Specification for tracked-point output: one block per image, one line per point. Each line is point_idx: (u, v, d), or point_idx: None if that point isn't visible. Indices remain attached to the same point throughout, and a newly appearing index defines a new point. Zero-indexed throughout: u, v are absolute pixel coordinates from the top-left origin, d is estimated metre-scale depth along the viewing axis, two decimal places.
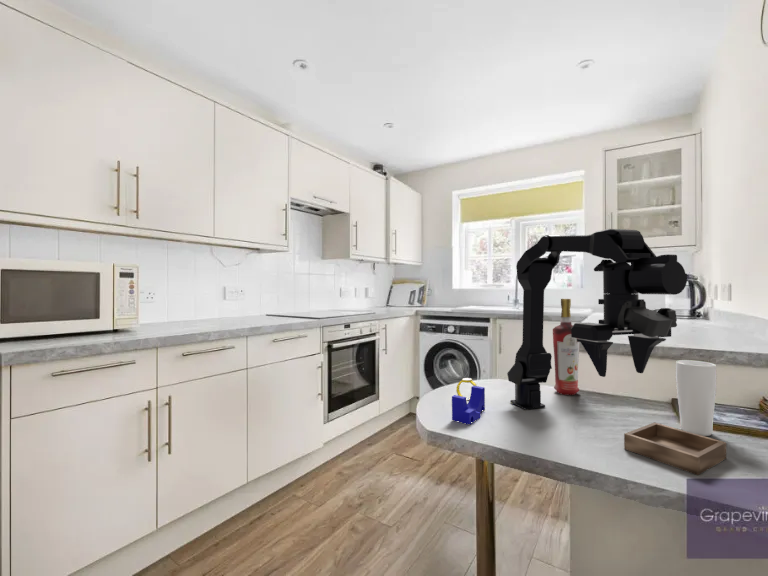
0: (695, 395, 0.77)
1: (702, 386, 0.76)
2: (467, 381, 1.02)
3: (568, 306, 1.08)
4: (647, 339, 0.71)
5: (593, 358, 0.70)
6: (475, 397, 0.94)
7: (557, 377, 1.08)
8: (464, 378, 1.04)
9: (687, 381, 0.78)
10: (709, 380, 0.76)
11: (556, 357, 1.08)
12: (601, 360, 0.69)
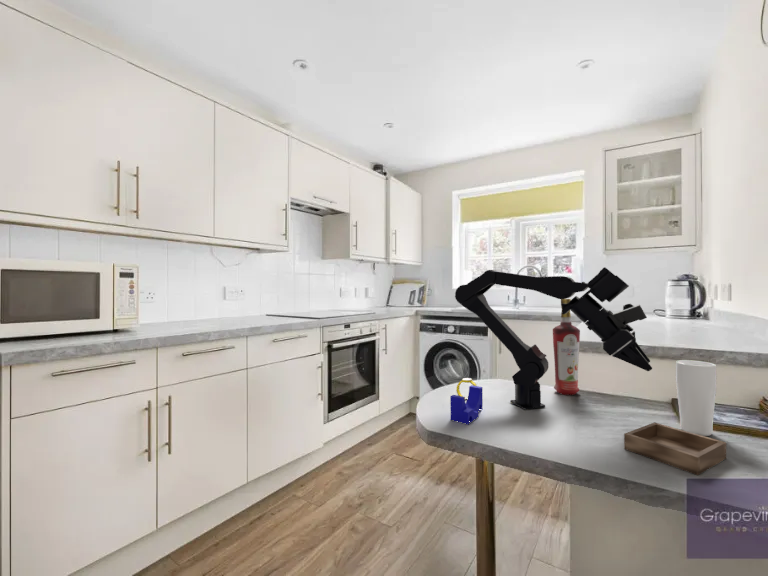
0: (695, 395, 0.77)
1: (702, 386, 0.76)
2: (467, 381, 1.02)
3: None
4: None
5: (634, 361, 0.80)
6: (473, 396, 0.95)
7: (557, 377, 1.08)
8: (464, 378, 1.04)
9: (687, 381, 0.78)
10: (709, 380, 0.76)
11: (556, 357, 1.08)
12: (641, 356, 0.80)
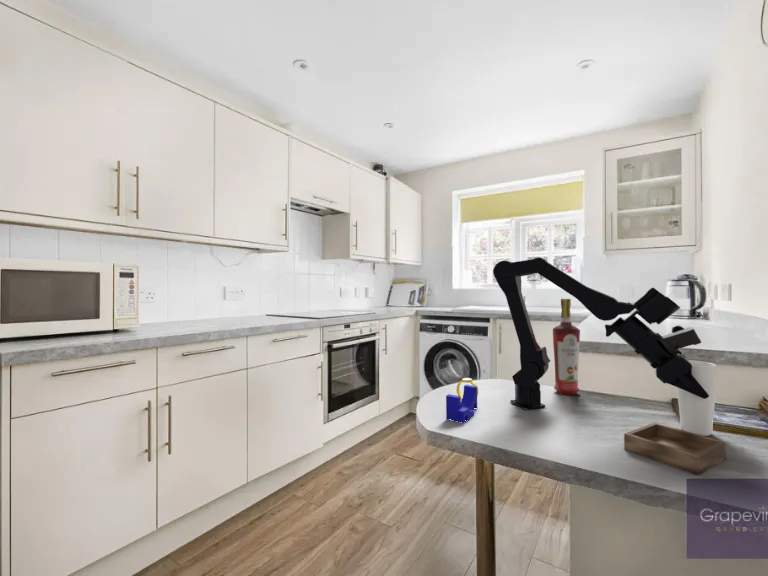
0: (695, 395, 0.77)
1: (702, 386, 0.76)
2: (467, 381, 1.02)
3: (568, 306, 1.08)
4: None
5: (689, 388, 0.76)
6: (468, 396, 0.95)
7: (557, 377, 1.08)
8: (464, 378, 1.04)
9: None
10: (709, 380, 0.76)
11: (556, 357, 1.08)
12: (697, 383, 0.76)
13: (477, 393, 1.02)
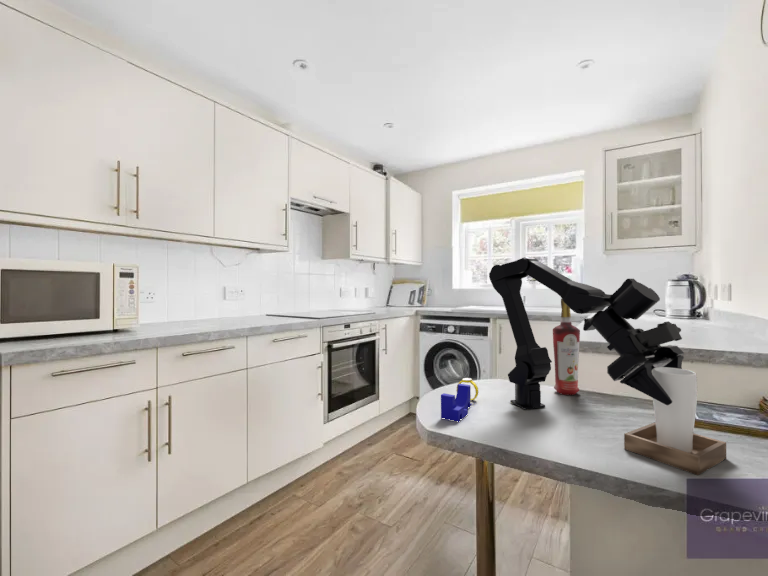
0: (662, 406, 0.68)
1: (669, 396, 0.67)
2: (467, 381, 1.02)
3: None
4: (670, 362, 0.74)
5: (648, 391, 0.68)
6: (461, 394, 0.96)
7: (557, 377, 1.08)
8: (464, 378, 1.04)
9: None
10: (677, 390, 0.67)
11: (556, 357, 1.08)
12: (656, 386, 0.67)
13: (477, 393, 1.02)
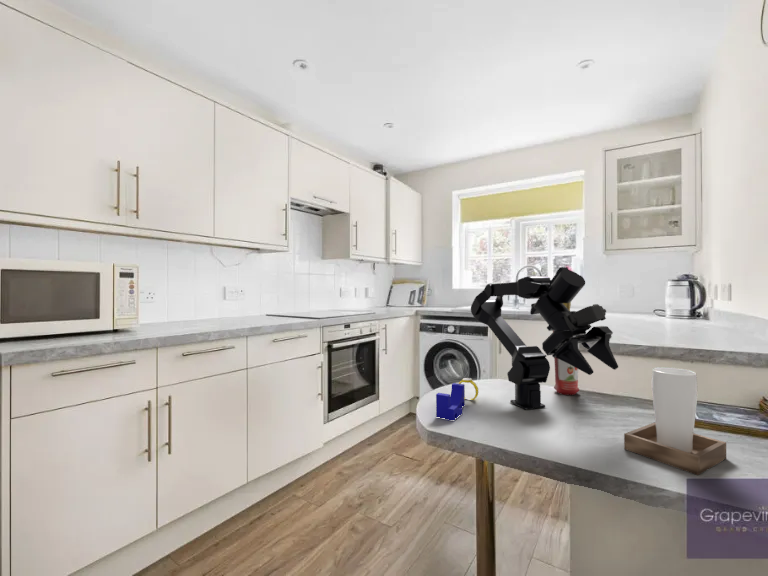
0: (662, 406, 0.68)
1: (669, 396, 0.67)
2: (467, 381, 1.02)
3: (568, 306, 1.08)
4: (600, 340, 0.84)
5: (574, 363, 0.78)
6: (456, 394, 0.97)
7: (557, 377, 1.08)
8: (464, 378, 1.04)
9: (655, 389, 0.70)
10: (677, 390, 0.67)
11: None
12: (580, 358, 0.77)
13: (477, 393, 1.02)
